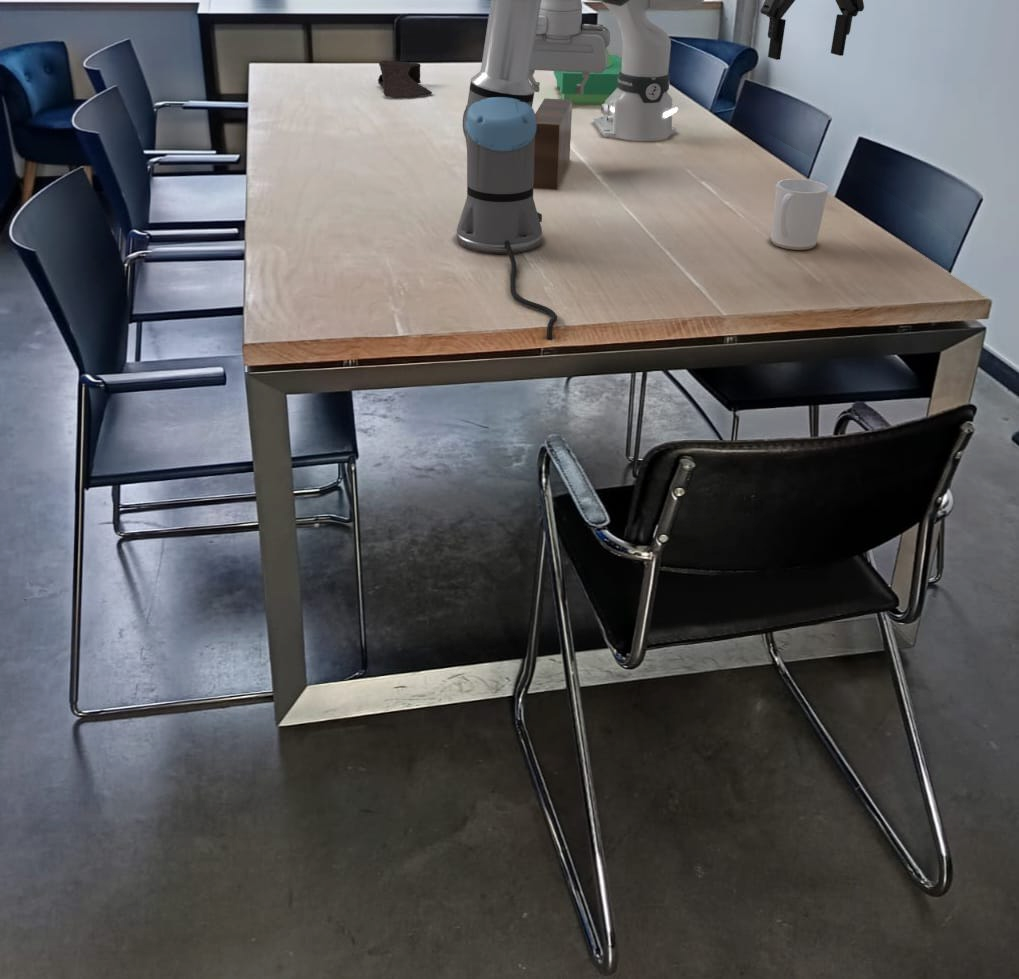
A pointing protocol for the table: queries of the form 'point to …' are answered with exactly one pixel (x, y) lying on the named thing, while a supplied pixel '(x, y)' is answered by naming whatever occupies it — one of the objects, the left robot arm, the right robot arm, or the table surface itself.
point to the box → (552, 142)
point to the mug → (798, 213)
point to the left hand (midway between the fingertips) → (805, 56)
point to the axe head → (401, 79)
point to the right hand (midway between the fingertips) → (557, 92)
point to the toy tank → (590, 83)
